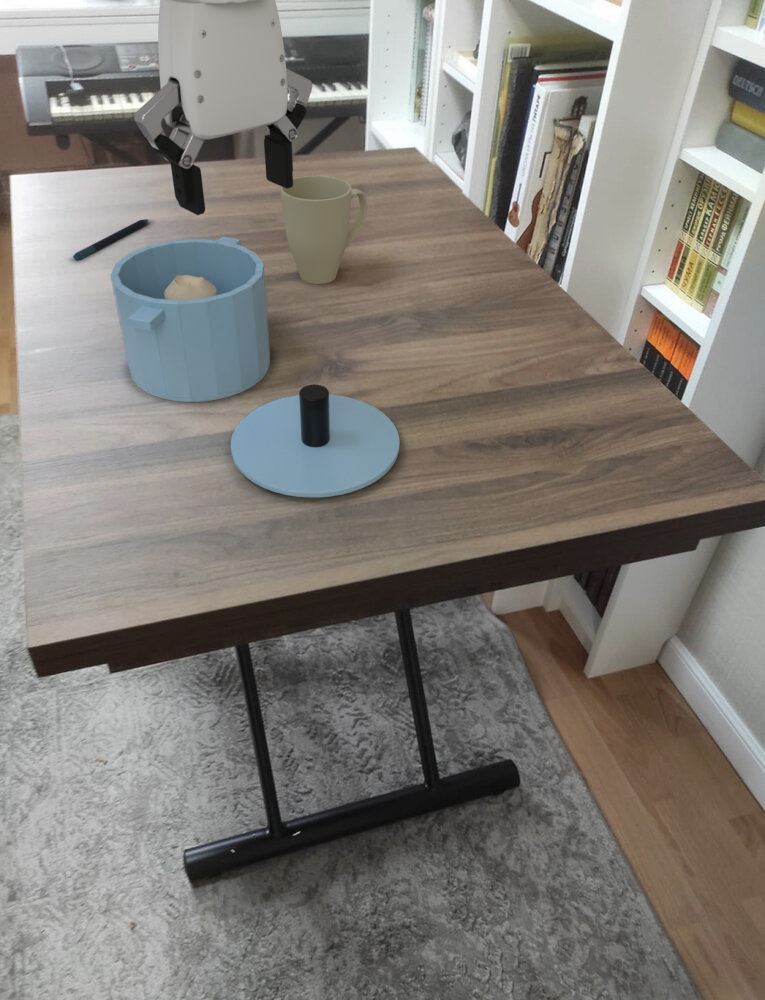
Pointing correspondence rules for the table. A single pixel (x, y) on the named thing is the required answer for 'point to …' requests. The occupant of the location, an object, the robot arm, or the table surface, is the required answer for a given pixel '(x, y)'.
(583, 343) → the table surface
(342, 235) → the mug
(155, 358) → the pot
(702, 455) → the table surface
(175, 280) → the candle
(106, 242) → the pen
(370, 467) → the lid
